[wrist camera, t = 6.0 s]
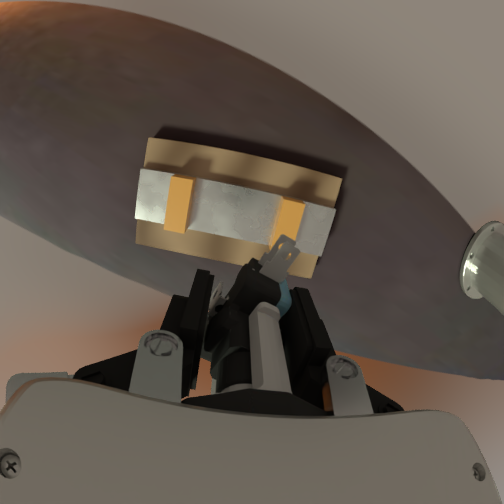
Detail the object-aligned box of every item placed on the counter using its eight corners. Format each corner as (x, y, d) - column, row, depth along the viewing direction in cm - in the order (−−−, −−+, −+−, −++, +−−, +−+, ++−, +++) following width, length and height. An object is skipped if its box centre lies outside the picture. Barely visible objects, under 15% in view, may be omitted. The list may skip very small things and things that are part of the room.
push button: (237, 203, 12) (228, 423, 3) (334, 262, 13) (443, 446, 4) (172, 314, 14) (120, 501, 5) (259, 353, 15) (274, 527, 6)
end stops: (302, 200, 26) (305, 204, 24) (288, 249, 27) (290, 255, 26) (175, 173, 24) (171, 176, 23) (167, 224, 26) (163, 229, 25)
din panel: (337, 176, 27) (342, 178, 26) (307, 272, 31) (310, 278, 30) (153, 137, 25) (148, 137, 24) (140, 238, 29) (135, 243, 28)
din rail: (333, 207, 27) (336, 209, 26) (319, 253, 29) (321, 256, 28) (143, 167, 25) (140, 168, 24) (137, 216, 27) (134, 218, 26)
